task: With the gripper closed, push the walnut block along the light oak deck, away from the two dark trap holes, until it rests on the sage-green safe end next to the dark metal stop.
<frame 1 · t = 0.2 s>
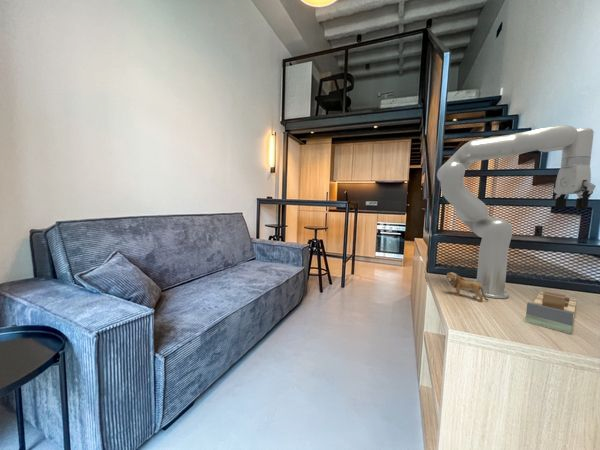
hand: (570, 209, 97), 36 cm above the table, tool pointing down, fingers open, 9 cm apart
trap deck: (552, 313, 88), on the table
lion figurine: (464, 297, 102), on the table
end stop: (547, 326, 78), resting on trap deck
walnut block: (552, 307, 87), point 2 cm above the table, touching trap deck
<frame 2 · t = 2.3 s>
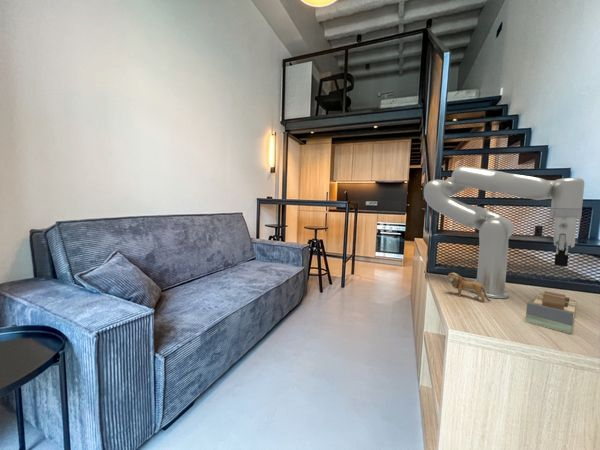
hand: (560, 265, 91), 16 cm above the table, tool pointing down, fingers closed
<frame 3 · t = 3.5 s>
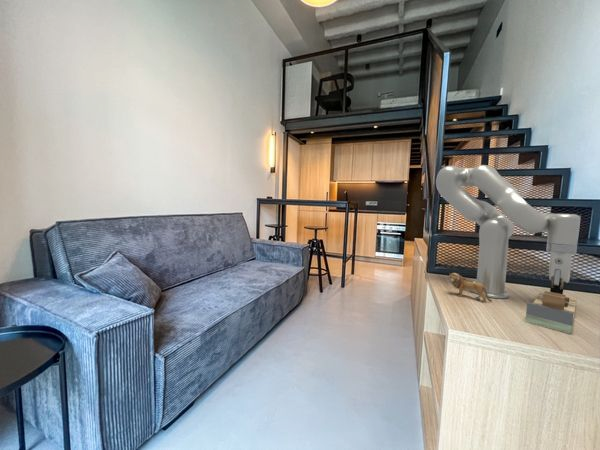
hand: (555, 299, 92), 4 cm above the table, tool pointing down, fingers closed
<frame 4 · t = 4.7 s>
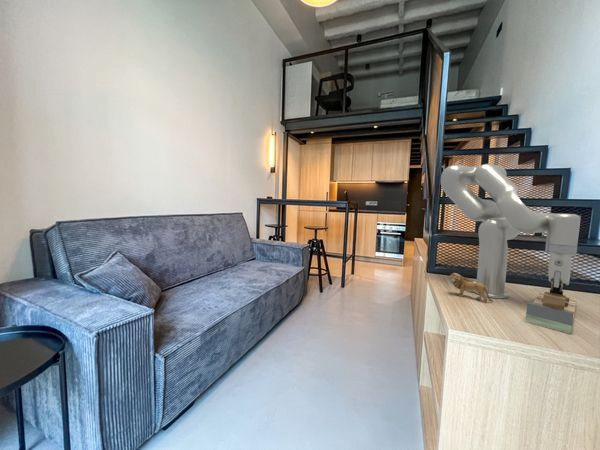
hand: (555, 301, 89), 4 cm above the table, tool pointing down, fingers closed
walnut block: (553, 308, 86), point 3 cm above the table, touching gripper, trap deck
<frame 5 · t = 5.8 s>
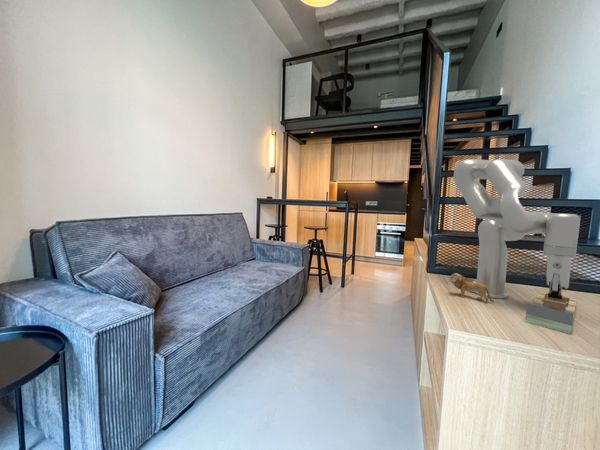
hand: (554, 306, 85), 4 cm above the table, tool pointing down, fingers closed
walnut block: (553, 313, 82), point 3 cm above the table, touching gripper
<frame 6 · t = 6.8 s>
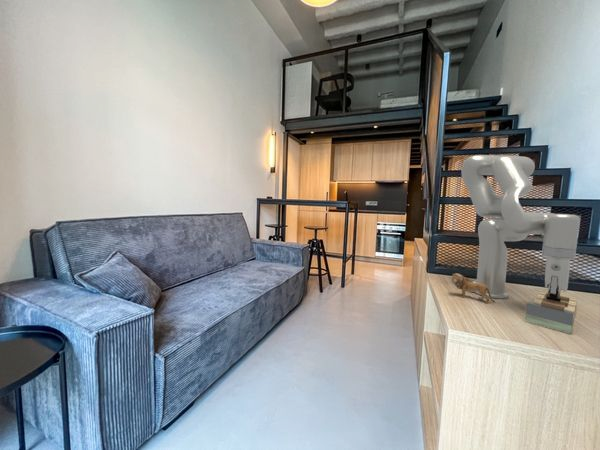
hand: (552, 308, 83), 4 cm above the table, tool pointing down, fingers closed
walnut block: (551, 316, 79), point 3 cm above the table, touching end stop, gripper
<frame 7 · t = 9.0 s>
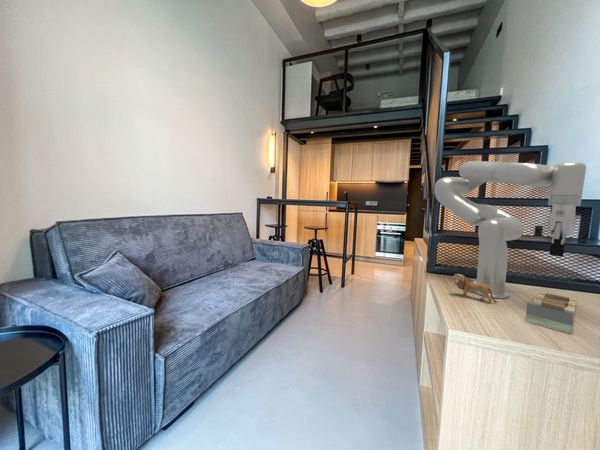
hand: (556, 255, 87), 20 cm above the table, tool pointing down, fingers closed
walnut block: (551, 316, 79), point 2 cm above the table, touching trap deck
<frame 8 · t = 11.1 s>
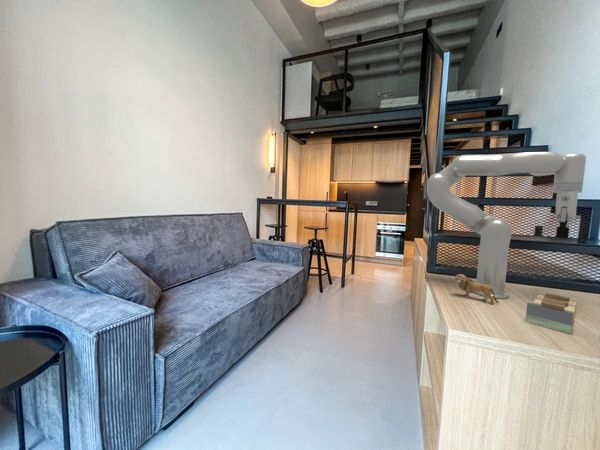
hand: (561, 237, 96), 25 cm above the table, tool pointing down, fingers closed
at the end: walnut block 3.3 cm from the end stop (horizontally); walnut block point 2.5 cm above the table; walnut block tilted 0° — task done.
